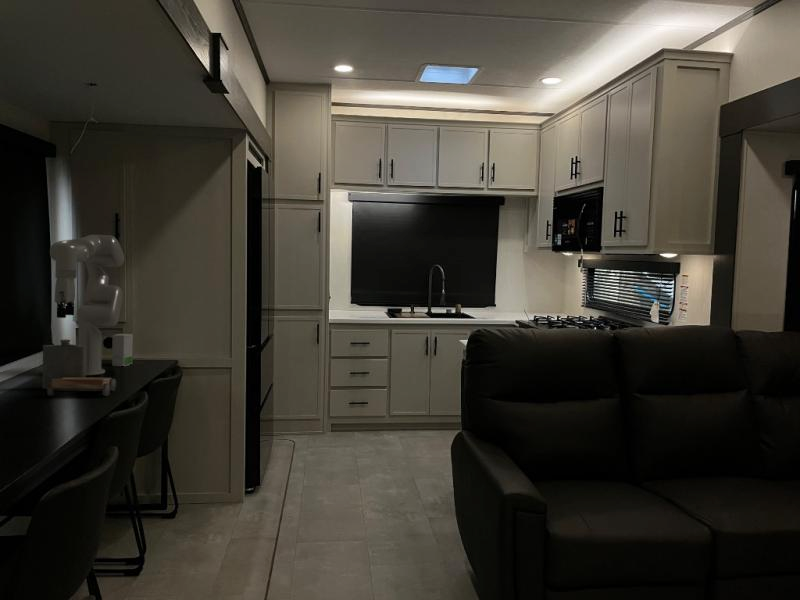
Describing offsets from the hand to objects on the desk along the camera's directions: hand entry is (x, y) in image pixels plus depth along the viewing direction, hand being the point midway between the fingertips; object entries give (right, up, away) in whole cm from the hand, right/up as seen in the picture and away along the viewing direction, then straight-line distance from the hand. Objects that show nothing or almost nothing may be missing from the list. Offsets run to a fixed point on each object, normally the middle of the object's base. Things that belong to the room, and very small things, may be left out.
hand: (65, 316), depth 243 cm
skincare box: (-3, -26, +55) cm, 61 cm away
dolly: (+10, -31, -5) cm, 33 cm away
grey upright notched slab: (-2, -30, +2) cm, 30 cm away
